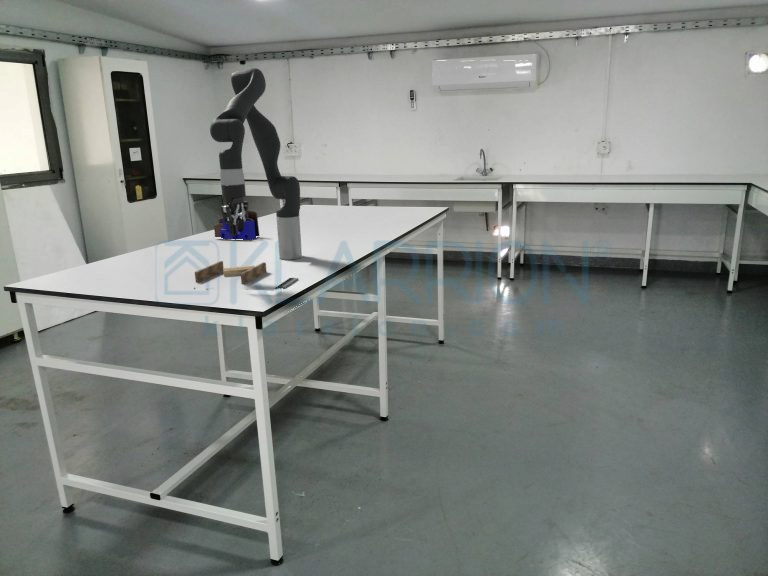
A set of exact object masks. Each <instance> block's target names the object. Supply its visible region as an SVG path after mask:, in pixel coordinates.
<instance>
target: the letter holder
mask: <svg viewBox="0 0 768 576" xmlns="http://www.w3.org/2000/svg"><path fill="white" fill-rule="evenodd" d="M227 219H228V217H227ZM222 220H224V219H223V217H220V218H218V223H215V224H214V226H213V227H214V228H213V229H214V238H215V237H221V236H220V229H223V222H222ZM232 220H233V218H232ZM250 220H253V221H254V225H255V235H256V236H260V230H259V218H258V213H257V212H256V211H254V210H248V219H246V221H250ZM235 225H236V229H237V230H238V221H237V218H236V224H235Z"/></svg>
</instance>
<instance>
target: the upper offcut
mask: <svg viewBox="0 0 768 576" xmlns="http://www.w3.org/2000/svg"><path fill="white" fill-rule="evenodd" d="M255 266H256V265H254V264H253V265H245V266H244V265H243V266H231V267H224V268H223V271H222V273H223V276H224V277H231V276H241V273H243V272H245V271H247V270H249V269H251V268H253V267H255Z"/></svg>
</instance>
